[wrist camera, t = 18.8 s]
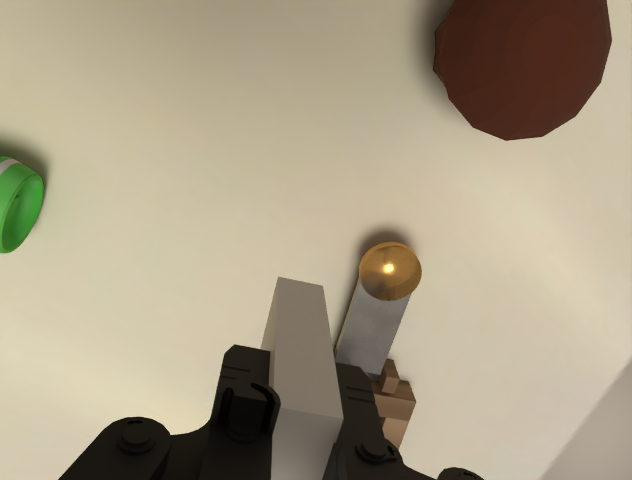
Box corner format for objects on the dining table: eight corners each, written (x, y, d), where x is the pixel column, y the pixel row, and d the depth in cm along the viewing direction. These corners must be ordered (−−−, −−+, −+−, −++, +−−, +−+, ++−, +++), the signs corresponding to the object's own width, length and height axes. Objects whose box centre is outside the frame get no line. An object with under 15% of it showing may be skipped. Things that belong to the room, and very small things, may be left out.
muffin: (398, -4, 38) (435, -24, 29) (544, -59, 38) (631, -97, 28) (438, 147, 42) (482, 174, 33) (571, 101, 42) (654, 114, 32)
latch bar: (368, 235, 42) (370, 241, 41) (427, 248, 42) (430, 254, 41) (326, 366, 47) (326, 374, 46) (378, 376, 48) (380, 384, 47)
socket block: (291, 340, 47) (291, 358, 45) (415, 364, 49) (423, 383, 46) (259, 460, 52) (258, 484, 49) (374, 478, 53) (378, 502, 51)
